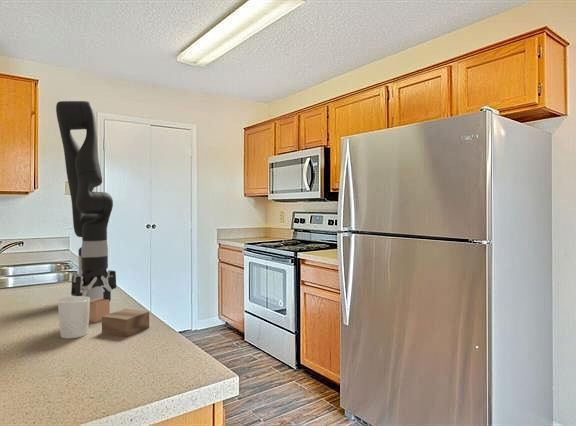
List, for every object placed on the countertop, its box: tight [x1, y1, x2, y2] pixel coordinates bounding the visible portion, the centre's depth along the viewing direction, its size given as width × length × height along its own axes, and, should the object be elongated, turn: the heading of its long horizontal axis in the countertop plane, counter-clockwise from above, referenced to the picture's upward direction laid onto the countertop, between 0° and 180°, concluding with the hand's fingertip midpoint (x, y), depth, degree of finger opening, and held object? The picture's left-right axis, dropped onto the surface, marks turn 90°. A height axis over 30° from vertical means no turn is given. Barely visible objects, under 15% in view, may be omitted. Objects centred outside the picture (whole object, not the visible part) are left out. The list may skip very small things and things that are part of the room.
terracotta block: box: [89, 298, 111, 323], centre depth 125 cm, size 5×5×6 cm
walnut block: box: [101, 308, 150, 338], centre depth 114 cm, size 9×9×5 cm
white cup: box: [57, 296, 90, 340], centre depth 110 cm, size 8×8×10 cm
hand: (94, 306), depth 125 cm, fingers open, 8 cm apart
